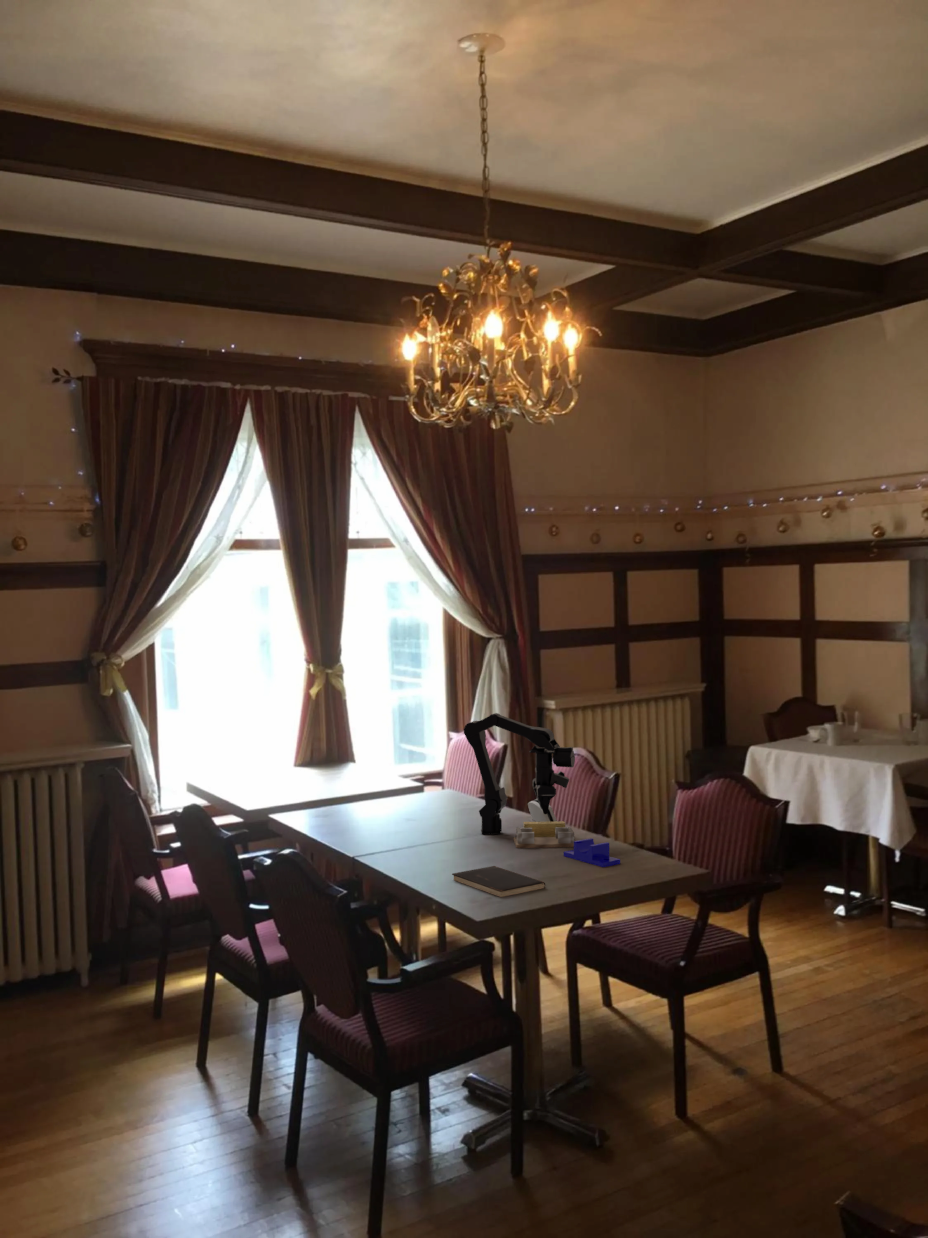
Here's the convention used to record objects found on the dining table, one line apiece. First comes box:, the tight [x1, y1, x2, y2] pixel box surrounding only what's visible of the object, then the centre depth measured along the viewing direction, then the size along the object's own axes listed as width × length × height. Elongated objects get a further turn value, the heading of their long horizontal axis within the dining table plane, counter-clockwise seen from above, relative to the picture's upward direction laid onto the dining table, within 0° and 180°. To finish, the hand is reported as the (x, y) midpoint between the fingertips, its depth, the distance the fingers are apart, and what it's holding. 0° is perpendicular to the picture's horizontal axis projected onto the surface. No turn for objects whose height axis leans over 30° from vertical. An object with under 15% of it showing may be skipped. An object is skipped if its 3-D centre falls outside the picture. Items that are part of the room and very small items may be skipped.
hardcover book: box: [451, 865, 546, 898], centre depth 310 cm, size 16×23×2 cm
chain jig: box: [513, 826, 576, 849], centre depth 361 cm, size 20×11×4 cm, turn 92°
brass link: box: [523, 820, 566, 837], centre depth 372 cm, size 14×4×5 cm, turn 92°
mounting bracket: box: [563, 837, 621, 868], centre depth 338 cm, size 18×7×6 cm, turn 36°
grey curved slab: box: [527, 798, 558, 822], centre depth 393 cm, size 17×5×10 cm, turn 18°
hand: (543, 811), depth 372 cm, fingers open, 9 cm apart
